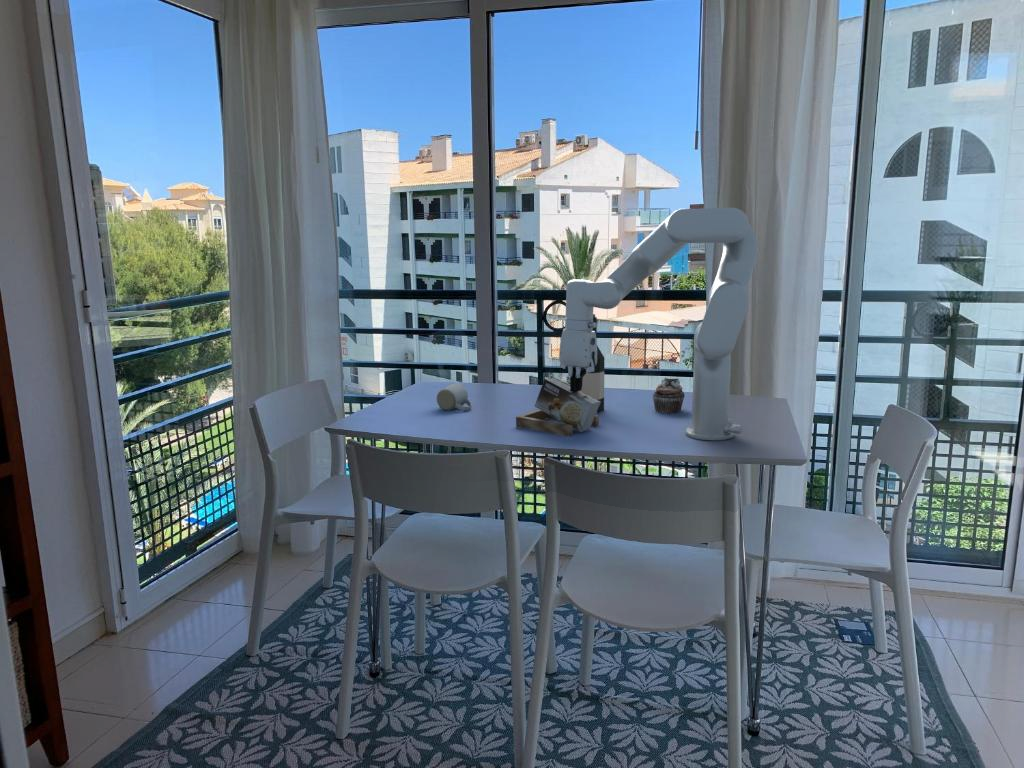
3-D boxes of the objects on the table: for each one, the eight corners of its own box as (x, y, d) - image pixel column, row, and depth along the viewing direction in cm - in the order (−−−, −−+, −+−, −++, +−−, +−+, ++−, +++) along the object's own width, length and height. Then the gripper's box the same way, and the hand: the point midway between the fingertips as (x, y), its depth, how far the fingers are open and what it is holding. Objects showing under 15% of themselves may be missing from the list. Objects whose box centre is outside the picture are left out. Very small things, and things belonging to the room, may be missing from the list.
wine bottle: (602, 413, 228) (603, 316, 222) (575, 412, 230) (575, 315, 224) (605, 407, 236) (605, 312, 230) (578, 406, 238) (579, 312, 232)
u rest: (598, 425, 214) (598, 415, 214) (569, 436, 203) (569, 426, 202) (546, 416, 226) (546, 406, 225) (516, 426, 214) (515, 416, 214)
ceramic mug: (435, 410, 236) (434, 386, 234) (448, 404, 243) (447, 381, 242) (464, 413, 232) (464, 389, 230) (476, 408, 239) (476, 384, 237)
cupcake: (651, 406, 236) (652, 375, 234) (682, 407, 234) (683, 376, 232) (652, 414, 227) (653, 381, 225) (685, 414, 225) (686, 382, 223)
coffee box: (601, 401, 208) (554, 375, 214) (592, 404, 202) (544, 377, 209) (589, 429, 210) (543, 403, 217) (580, 433, 205) (533, 406, 212)
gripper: (609, 326, 202) (606, 392, 206) (563, 321, 211) (561, 384, 215) (594, 329, 196) (591, 397, 200) (548, 323, 205) (546, 388, 209)
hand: (575, 390), depth 207 cm, fingers closed
